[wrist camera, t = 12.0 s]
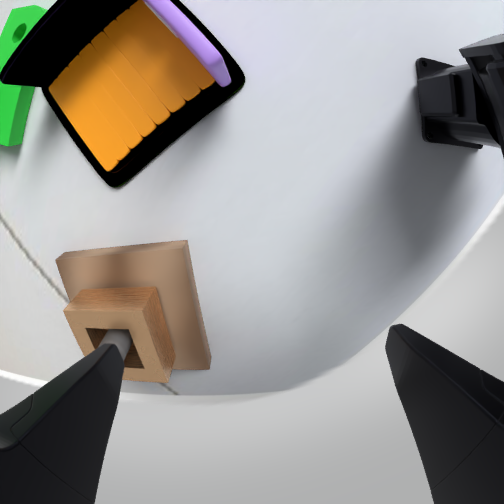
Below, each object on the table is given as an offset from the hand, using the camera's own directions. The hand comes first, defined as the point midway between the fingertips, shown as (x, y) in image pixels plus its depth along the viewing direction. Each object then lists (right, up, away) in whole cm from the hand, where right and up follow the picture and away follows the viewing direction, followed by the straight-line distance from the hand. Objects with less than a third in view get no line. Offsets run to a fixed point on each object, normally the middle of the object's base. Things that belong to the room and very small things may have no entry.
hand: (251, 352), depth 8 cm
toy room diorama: (-8, +15, +7) cm, 19 cm away
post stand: (-9, -2, +14) cm, 17 cm away
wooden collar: (-9, -2, +12) cm, 15 cm away
